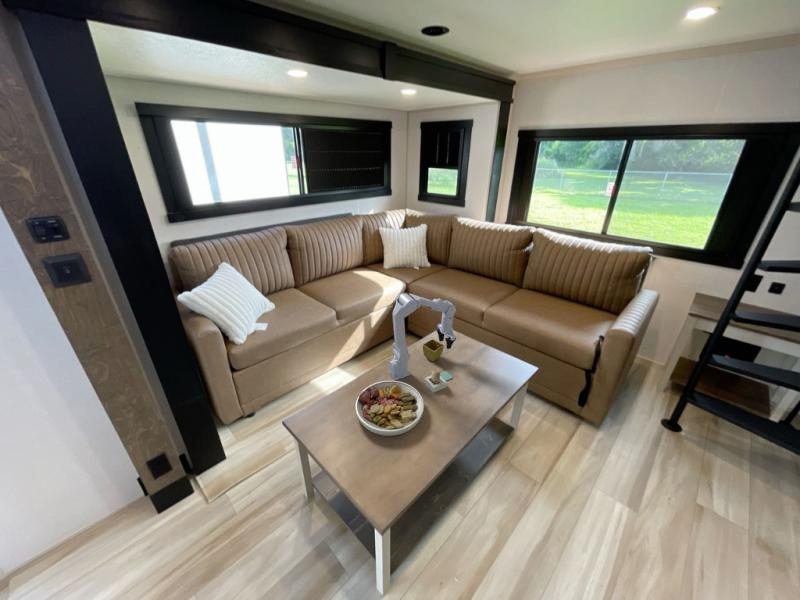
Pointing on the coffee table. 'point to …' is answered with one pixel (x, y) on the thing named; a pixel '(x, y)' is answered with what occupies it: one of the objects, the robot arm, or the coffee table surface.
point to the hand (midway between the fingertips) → (444, 344)
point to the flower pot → (432, 349)
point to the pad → (446, 375)
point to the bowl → (389, 407)
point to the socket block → (436, 387)
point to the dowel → (435, 377)
